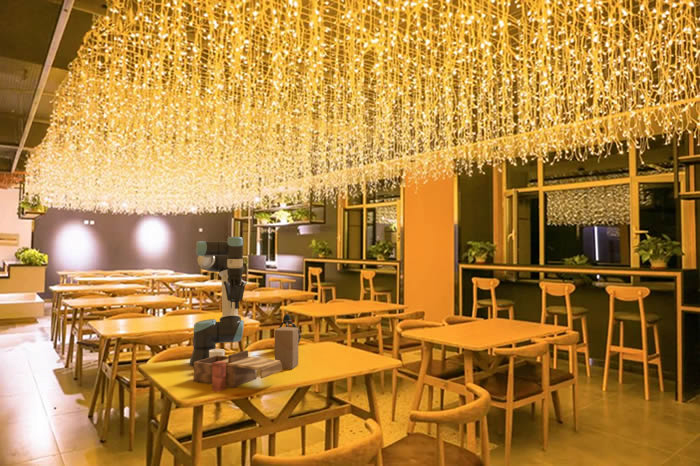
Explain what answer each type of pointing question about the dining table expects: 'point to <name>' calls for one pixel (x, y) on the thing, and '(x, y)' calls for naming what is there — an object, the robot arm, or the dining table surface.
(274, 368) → the lid
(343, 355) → the dining table surface
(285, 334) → the wooden block
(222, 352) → the white cup
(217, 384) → the reddish-brown wooden bar
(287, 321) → the teapot
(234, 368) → the toolbox
